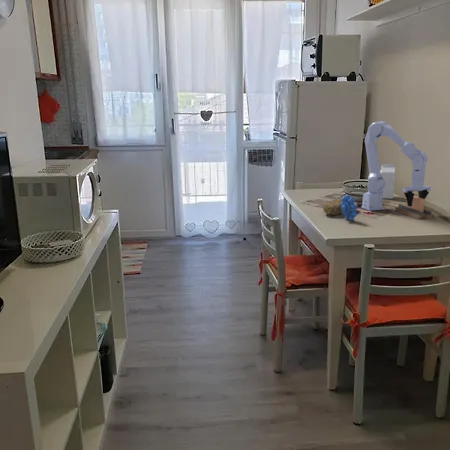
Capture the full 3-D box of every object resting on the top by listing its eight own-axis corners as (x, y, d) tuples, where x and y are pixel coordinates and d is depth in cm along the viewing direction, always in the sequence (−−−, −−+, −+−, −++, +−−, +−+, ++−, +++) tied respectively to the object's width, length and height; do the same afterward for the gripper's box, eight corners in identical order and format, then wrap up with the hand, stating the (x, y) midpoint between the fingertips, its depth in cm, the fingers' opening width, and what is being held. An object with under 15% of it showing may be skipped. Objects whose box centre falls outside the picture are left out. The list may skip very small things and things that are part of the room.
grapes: (332, 217, 225) (334, 193, 222) (344, 216, 228) (345, 192, 224) (347, 224, 215) (349, 198, 212) (359, 222, 217) (361, 197, 214)
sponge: (343, 210, 245) (312, 206, 236) (348, 196, 242) (317, 192, 233) (358, 220, 234) (327, 217, 225) (364, 206, 231) (332, 202, 222)
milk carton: (392, 198, 261) (395, 165, 256) (379, 198, 263) (382, 165, 257) (391, 196, 268) (394, 163, 262) (378, 195, 269) (380, 163, 264)
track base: (418, 219, 220) (418, 213, 220) (395, 210, 237) (395, 204, 236) (434, 217, 223) (435, 211, 222) (410, 208, 239) (410, 203, 238)
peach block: (418, 213, 225) (420, 199, 223) (405, 208, 234) (407, 195, 232) (423, 213, 225) (424, 199, 223) (410, 208, 234) (411, 194, 232)
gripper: (410, 180, 219) (407, 208, 223) (436, 178, 223) (433, 206, 227) (400, 178, 226) (398, 205, 230) (426, 176, 230) (423, 203, 233)
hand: (415, 205), depth 229 cm, fingers open, 6 cm apart
